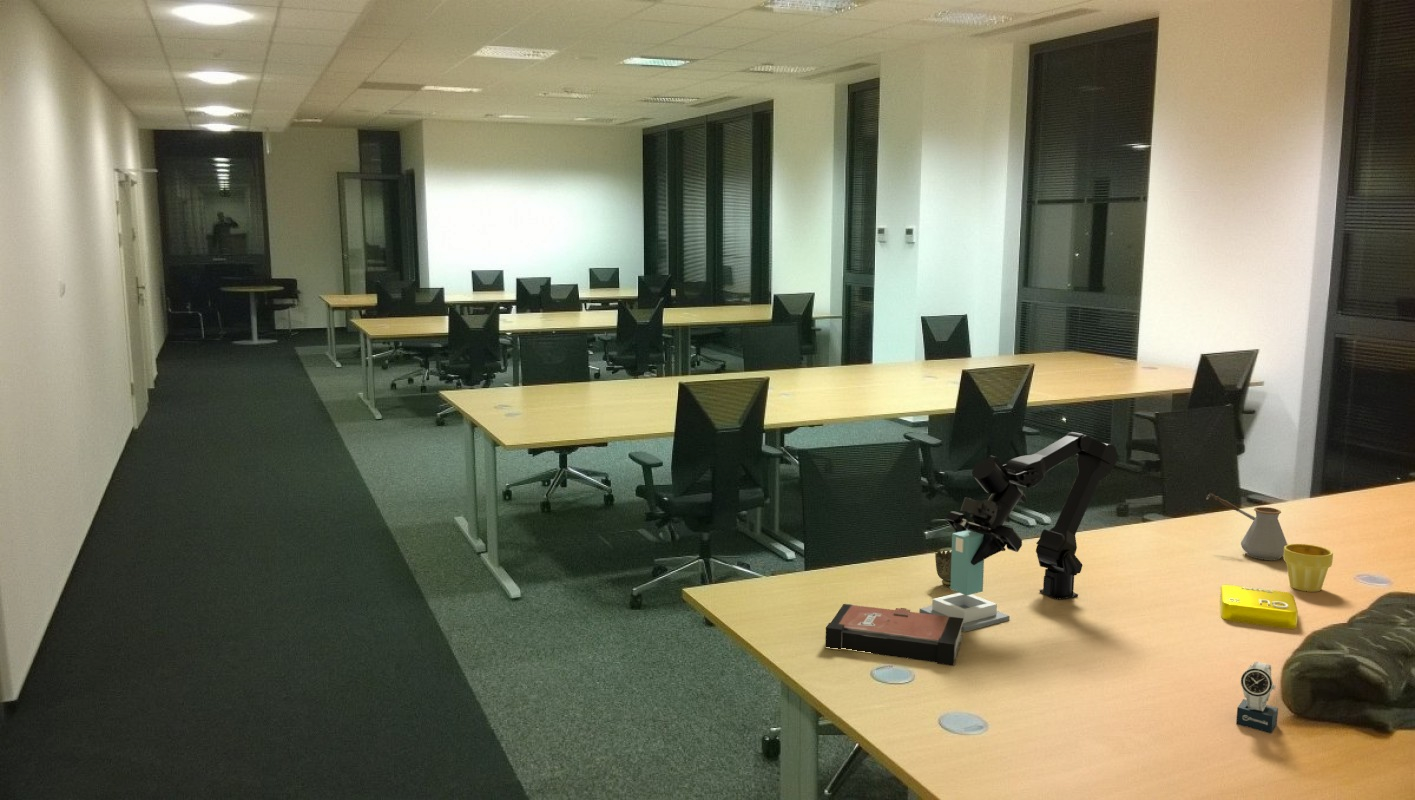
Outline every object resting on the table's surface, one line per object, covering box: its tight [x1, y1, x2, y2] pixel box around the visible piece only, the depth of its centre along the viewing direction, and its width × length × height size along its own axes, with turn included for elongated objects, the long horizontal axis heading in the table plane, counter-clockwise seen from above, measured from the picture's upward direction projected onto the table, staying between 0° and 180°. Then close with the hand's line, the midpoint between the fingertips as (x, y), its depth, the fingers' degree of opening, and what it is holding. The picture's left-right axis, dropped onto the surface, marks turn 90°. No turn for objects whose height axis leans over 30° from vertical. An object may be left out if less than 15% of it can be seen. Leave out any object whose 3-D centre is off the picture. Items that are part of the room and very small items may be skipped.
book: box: [825, 603, 964, 667], centre depth 217 cm, size 26×18×5 cm
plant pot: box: [1283, 543, 1334, 593], centre depth 251 cm, size 10×10×10 cm
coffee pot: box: [1205, 492, 1289, 561], centre depth 279 cm, size 21×12×15 cm, turn 46°
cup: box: [934, 550, 952, 588], centre depth 253 cm, size 8×7×8 cm
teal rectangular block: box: [949, 530, 985, 595], centre depth 230 cm, size 5×5×13 cm
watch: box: [1235, 661, 1279, 734], centre depth 179 cm, size 6×8×11 cm
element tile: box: [1219, 584, 1299, 630], centre depth 233 cm, size 15×15×5 cm
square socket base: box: [918, 592, 1010, 633], centre depth 232 cm, size 14×14×4 cm
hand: (963, 560), depth 229 cm, fingers closed on teal rectangular block, 5 cm apart
